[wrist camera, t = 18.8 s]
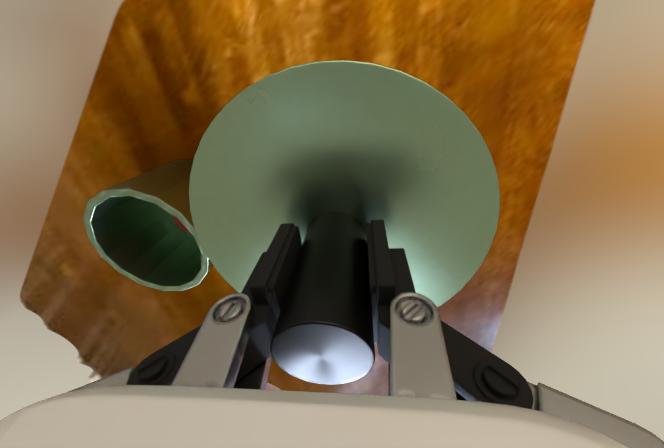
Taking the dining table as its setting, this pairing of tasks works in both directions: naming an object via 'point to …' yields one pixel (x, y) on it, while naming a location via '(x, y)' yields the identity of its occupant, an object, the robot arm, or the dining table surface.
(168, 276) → the pot
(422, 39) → the dining table surface
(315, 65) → the lid
